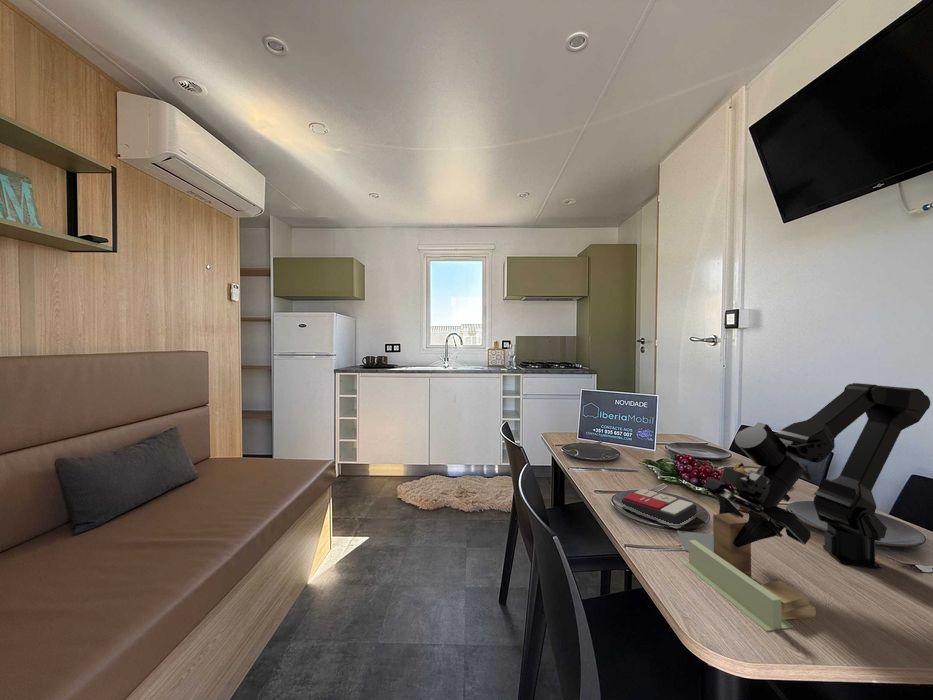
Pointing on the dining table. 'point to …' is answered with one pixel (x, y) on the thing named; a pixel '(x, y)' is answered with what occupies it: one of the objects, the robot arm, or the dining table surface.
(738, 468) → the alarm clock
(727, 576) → the green flanged rail
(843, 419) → the robot arm
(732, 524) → the brown wooden block
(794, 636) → the dining table surface
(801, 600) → the offcut upper
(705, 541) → the felt pad
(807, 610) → the offcut lower
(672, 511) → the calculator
